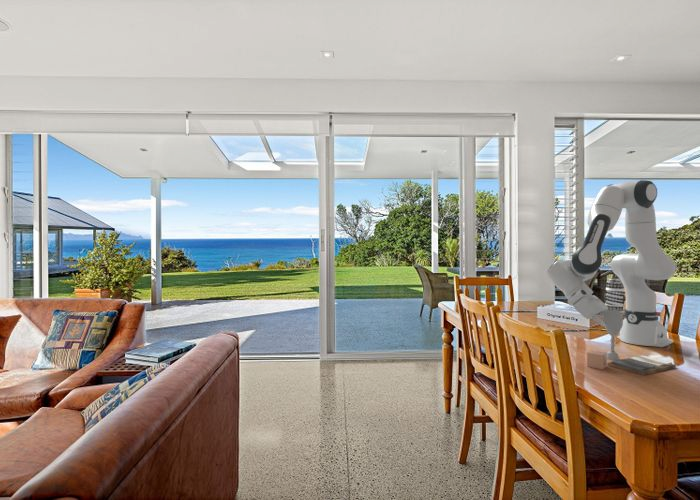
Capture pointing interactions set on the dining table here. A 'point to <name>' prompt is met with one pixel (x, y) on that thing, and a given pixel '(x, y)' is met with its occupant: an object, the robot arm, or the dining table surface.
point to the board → (642, 365)
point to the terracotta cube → (597, 359)
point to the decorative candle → (614, 295)
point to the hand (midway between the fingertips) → (608, 323)
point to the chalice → (613, 329)
